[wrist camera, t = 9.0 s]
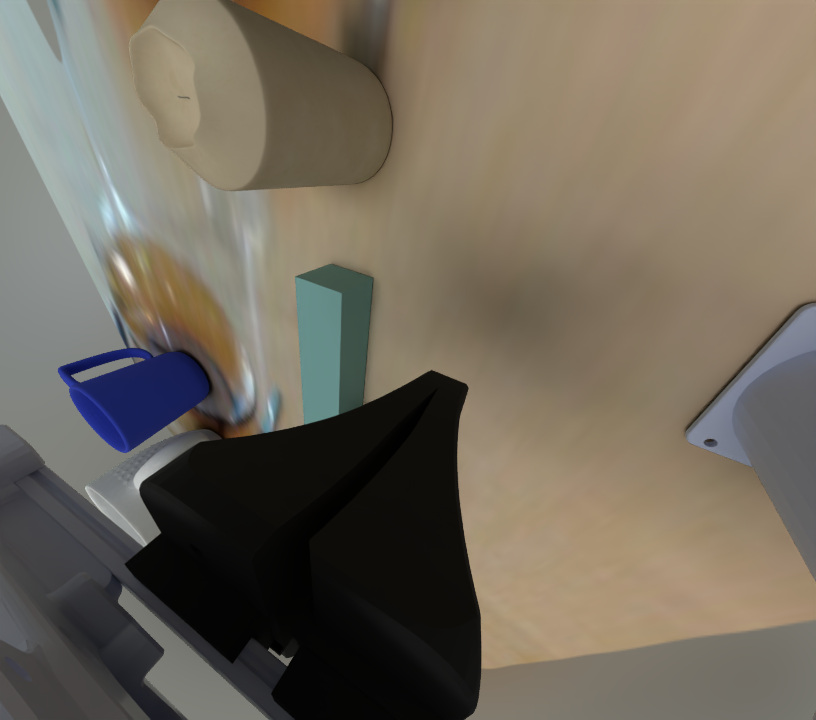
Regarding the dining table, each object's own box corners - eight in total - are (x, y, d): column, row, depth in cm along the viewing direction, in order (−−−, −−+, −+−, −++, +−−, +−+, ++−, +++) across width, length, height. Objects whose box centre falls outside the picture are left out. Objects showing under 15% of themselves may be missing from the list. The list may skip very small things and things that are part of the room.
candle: (412, 106, 16) (242, 45, 8) (364, 204, 19) (214, 227, 12) (331, 32, 16) (86, -98, 8) (298, 144, 19) (105, 125, 12)
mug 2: (193, 386, 42) (66, 455, 31) (256, 441, 41) (145, 530, 31) (191, 440, 51) (92, 506, 41) (242, 485, 50) (154, 564, 40)
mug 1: (144, 312, 38) (30, 348, 30) (218, 369, 37) (118, 422, 29) (152, 359, 43) (57, 400, 36) (217, 411, 42) (133, 466, 34)
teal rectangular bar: (373, 277, 21) (341, 293, 19) (356, 476, 34) (336, 502, 31) (330, 263, 22) (295, 276, 20) (330, 461, 35) (308, 485, 32)
